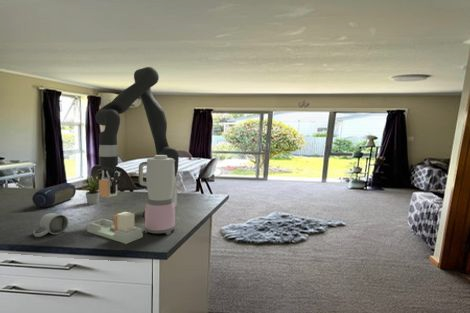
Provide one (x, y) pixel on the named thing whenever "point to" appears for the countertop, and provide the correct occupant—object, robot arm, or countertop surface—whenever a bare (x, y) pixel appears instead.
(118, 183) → the robot arm
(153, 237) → the countertop surface
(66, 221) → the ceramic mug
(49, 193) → the portable speaker
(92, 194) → the house plant
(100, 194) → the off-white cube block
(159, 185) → the blender
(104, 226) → the rail
